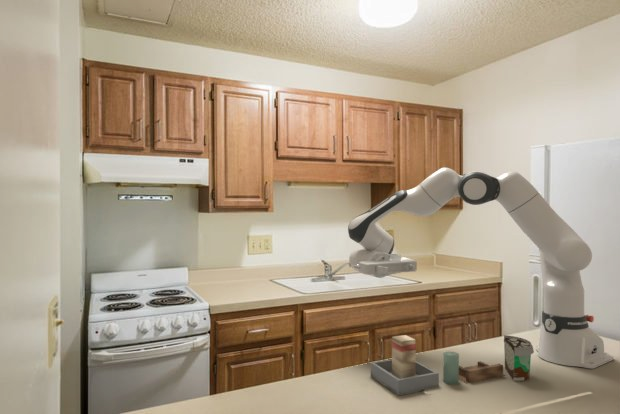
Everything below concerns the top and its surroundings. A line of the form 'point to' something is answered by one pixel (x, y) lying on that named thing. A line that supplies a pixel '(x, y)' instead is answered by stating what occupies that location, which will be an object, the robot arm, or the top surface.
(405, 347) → the birch block
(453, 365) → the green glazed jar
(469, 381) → the walnut rack
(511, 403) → the top surface
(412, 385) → the grey tray
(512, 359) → the food container
